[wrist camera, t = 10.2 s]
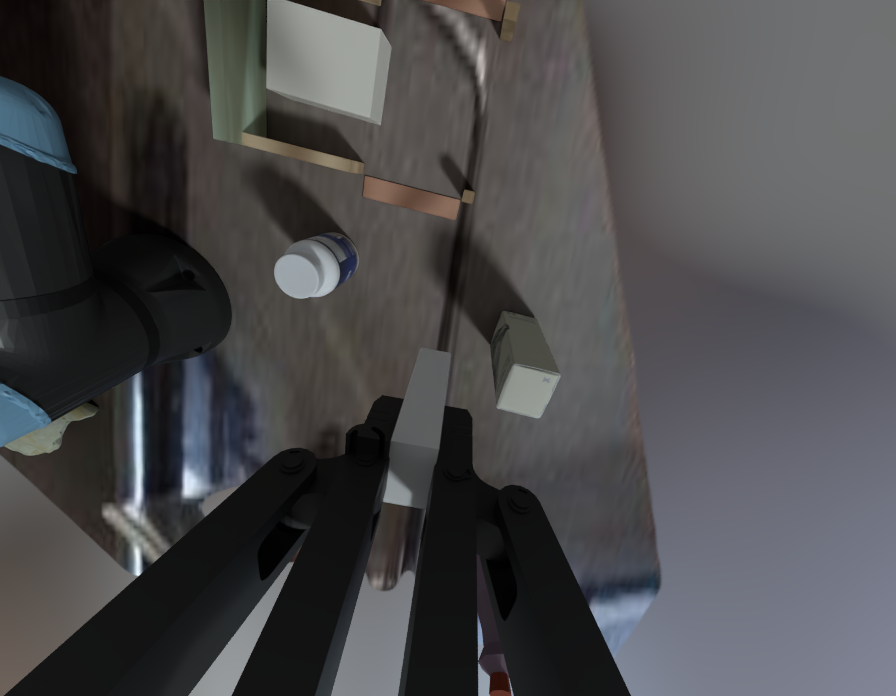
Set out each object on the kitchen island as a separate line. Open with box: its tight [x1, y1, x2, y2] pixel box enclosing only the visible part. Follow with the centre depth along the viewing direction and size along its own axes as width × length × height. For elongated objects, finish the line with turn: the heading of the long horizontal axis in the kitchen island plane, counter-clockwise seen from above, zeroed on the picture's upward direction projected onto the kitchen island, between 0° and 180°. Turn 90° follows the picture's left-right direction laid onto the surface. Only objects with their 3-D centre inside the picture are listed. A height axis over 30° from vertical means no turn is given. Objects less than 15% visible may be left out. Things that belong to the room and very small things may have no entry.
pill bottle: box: [274, 232, 359, 299], centre depth 34 cm, size 5×5×10 cm
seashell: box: [4, 402, 99, 455], centre depth 48 cm, size 13×8×10 cm
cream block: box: [266, 0, 391, 125], centre depth 29 cm, size 9×6×4 cm, turn 76°
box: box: [490, 311, 561, 419], centre depth 35 cm, size 5×4×13 cm
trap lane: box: [204, 0, 520, 220], centre depth 28 cm, size 23×18×6 cm
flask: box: [477, 555, 511, 696], centre depth 48 cm, size 16×16×20 cm
